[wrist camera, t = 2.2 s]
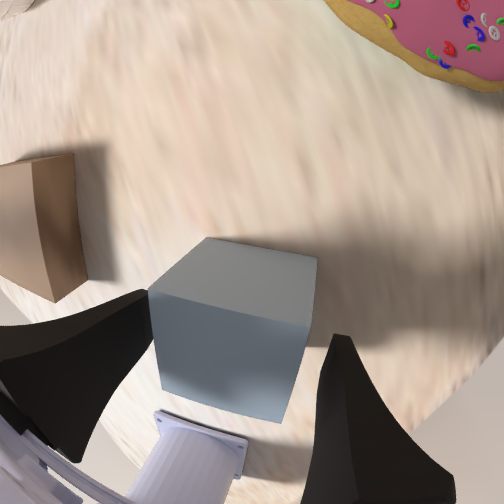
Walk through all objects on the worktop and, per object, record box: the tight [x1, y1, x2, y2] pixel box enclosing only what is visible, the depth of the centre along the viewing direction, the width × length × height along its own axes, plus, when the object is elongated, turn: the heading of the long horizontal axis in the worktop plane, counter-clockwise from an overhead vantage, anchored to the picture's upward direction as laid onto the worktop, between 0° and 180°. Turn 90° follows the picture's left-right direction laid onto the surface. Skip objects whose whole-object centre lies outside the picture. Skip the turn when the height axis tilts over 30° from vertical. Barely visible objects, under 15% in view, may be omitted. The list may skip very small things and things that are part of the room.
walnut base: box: [0, 154, 88, 303], centre depth 14 cm, size 8×8×4 cm
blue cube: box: [148, 237, 318, 424], centre depth 11 cm, size 5×5×5 cm
